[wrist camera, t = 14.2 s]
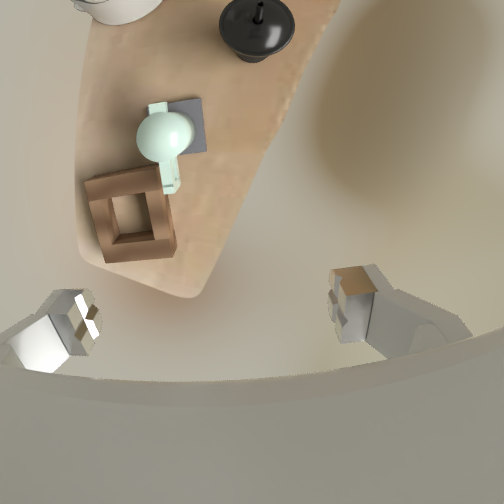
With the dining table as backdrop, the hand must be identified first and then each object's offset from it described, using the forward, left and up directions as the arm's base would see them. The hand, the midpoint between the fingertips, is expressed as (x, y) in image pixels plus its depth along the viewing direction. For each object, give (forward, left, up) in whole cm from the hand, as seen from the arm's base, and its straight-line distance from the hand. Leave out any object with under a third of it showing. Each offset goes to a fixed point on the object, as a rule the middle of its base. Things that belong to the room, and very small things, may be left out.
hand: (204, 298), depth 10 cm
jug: (-2, -8, -36) cm, 37 cm away
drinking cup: (-15, +4, -37) cm, 40 cm away
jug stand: (+8, -17, -37) cm, 42 cm away
